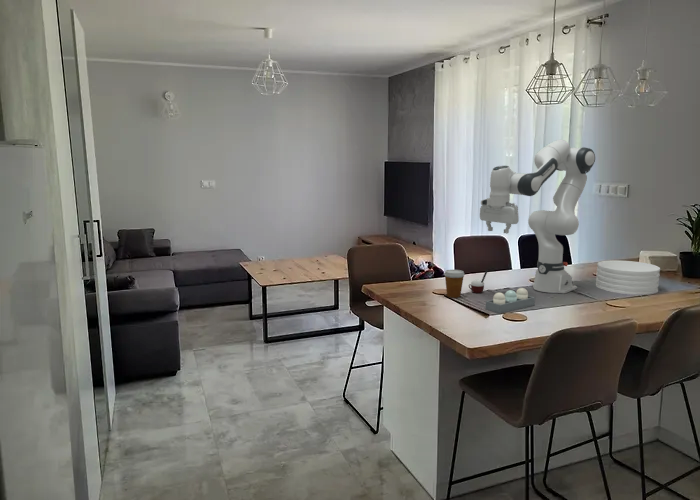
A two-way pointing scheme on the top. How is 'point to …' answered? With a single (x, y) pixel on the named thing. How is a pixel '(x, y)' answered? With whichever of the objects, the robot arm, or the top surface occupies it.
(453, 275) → the disposable coffee cup
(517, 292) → the inner cream egg
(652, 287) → the plate stack
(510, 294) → the blue egg
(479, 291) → the cocoa
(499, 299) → the outer cream egg
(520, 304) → the egg crate
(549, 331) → the top surface
